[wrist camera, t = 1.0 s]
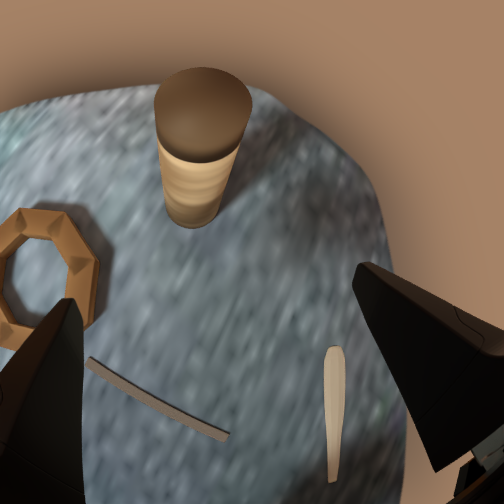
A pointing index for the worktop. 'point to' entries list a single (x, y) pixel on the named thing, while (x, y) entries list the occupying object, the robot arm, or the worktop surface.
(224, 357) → the worktop surface
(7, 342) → the faceted ring
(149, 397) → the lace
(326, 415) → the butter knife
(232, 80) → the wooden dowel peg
